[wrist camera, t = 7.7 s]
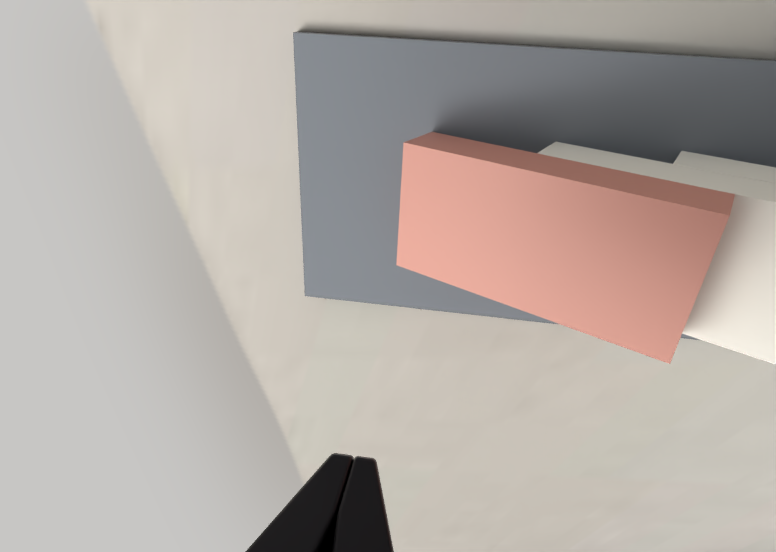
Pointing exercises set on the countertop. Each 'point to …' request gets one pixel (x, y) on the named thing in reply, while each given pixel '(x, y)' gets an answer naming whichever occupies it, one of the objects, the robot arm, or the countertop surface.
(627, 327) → the domino
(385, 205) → the slate mat
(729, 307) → the domino
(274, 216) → the countertop surface
